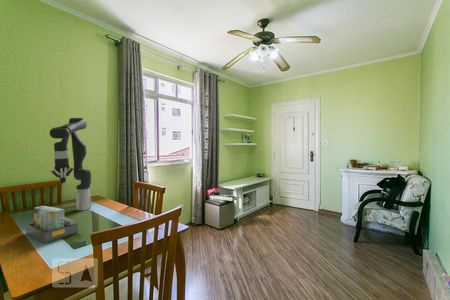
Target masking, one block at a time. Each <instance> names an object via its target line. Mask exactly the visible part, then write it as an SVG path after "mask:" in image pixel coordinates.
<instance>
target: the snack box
mask: <svg viewBox="0 0 450 300" xmlns="http://www.w3.org/2000/svg"><path fill="white" fill-rule="evenodd" d="M64 217H65V209H64V208H58V207H52V206H47V205H41V206H40V205H39V206H36V207H33V223H34V227H35V228H37V229H39V230H41V231H43V232H45V233H47V232H50V231H54V230H57V229H60V228H64Z"/></svg>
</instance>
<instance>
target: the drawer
mask: <svg viewBox="0 0 450 300" xmlns="http://www.w3.org/2000/svg"><path fill="white" fill-rule="evenodd" d="M78 224H79V223H77V222H76V220H74V219H72V218H69V217H67V216H64V228H60V229H57V230H54V231H50V232H47V233H45V232H43V231H41V230H39V229H37V228H35V227H34V222H31V223H26V224H25V234H26V235H28V236H30V237H32V238H33V239H35V240H37V241H38V242H40V243H42V244H44V245H45V244H49V243H51V242H54V241H58V240H61V239H63V238H66V237H70V236H73V235H75V234H78V233H79V229H78V228H79V225H78Z"/></svg>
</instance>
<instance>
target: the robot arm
mask: <svg viewBox="0 0 450 300" xmlns="http://www.w3.org/2000/svg"><path fill="white" fill-rule="evenodd" d="M87 124H88V122H87V120H86V119H85V118H83V117H70V118H69V119H68V123H65V124H64V125H62V126H61V125H60V126H56V127H52V128H51V129H50V130H49V136H50V137H51V138H52V139H57V140H58V139H61V140H60V141H57V142H54V143H53V149H54V150H53V151H54V153H53V155H54V156H53V157H54V159H53V160H54V167H53V169H52V170H50V173H52V175H53V176H54V177H56V178H59V182H60V183H61V184H65V183H66V180H67V179H66V178H67V177H69V176H70V174H71V173H72V172H73V178H74V180H76V181H80V183H79V184H76V186H75V189H76V192H75V193H76V210H77V211H79V212H80V211H86V210H89V209H92V196H91V188H90V187H91V184H92V172H91V171H90V169H87V168H86V169H85V168H84V167H83V163H84V160H85V158H86V155H87V145H86V144H85V142H84V141H83V140H82V139H81V137H80V136H79V134H78V131H80V130H85V129H86V128H87V126H88V125H87ZM70 136H71V137H70ZM70 138H71V150H72V157H73V159H72V160H73V167H71V166H70V165H69V163H70V162H69V157H70V156H69V152H68V143H69V139H70Z"/></svg>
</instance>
